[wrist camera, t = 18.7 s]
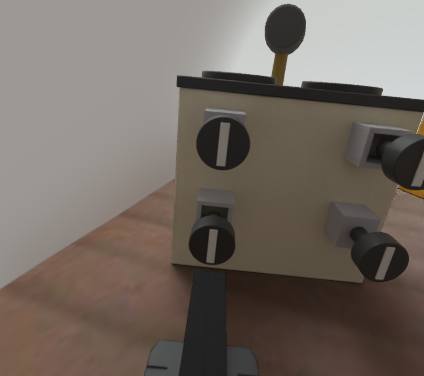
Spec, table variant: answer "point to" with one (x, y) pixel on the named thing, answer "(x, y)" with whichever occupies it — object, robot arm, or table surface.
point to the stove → (290, 174)
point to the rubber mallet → (284, 36)
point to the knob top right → (403, 160)
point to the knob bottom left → (212, 239)
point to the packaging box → (421, 193)
